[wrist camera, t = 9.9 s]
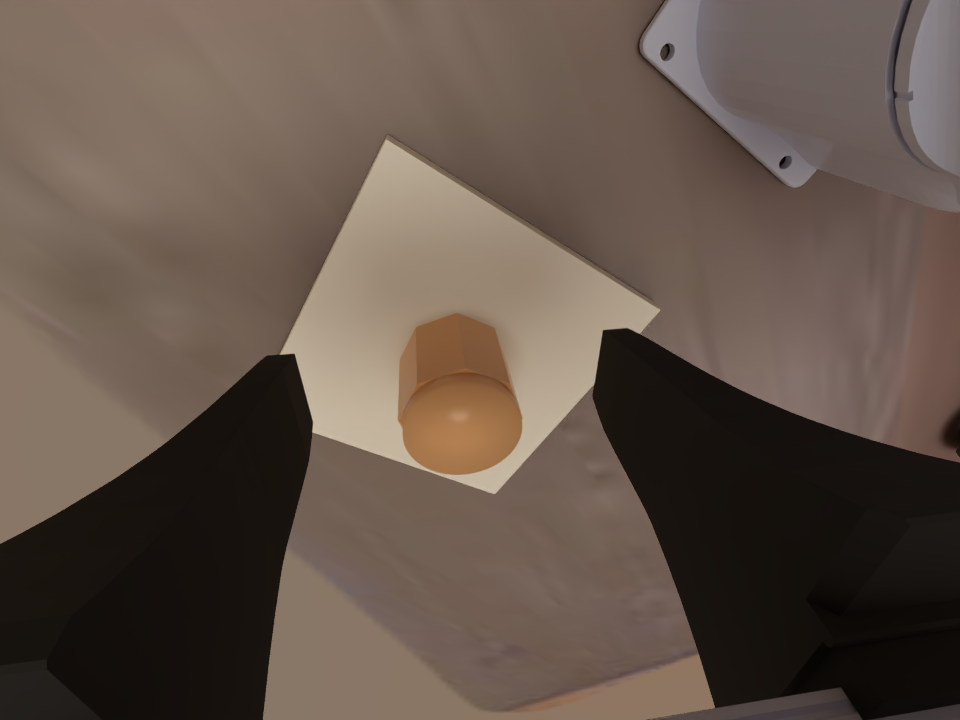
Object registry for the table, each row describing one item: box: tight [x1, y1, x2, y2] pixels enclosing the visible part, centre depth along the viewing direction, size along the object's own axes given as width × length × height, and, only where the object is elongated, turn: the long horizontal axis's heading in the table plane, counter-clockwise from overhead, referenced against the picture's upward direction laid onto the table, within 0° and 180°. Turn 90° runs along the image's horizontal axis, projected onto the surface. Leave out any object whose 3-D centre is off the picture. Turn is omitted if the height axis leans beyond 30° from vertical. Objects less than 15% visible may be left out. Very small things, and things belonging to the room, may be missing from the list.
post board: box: [279, 134, 661, 494], centre depth 21 cm, size 14×14×5 cm
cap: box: [398, 313, 523, 475], centre depth 20 cm, size 5×5×5 cm
